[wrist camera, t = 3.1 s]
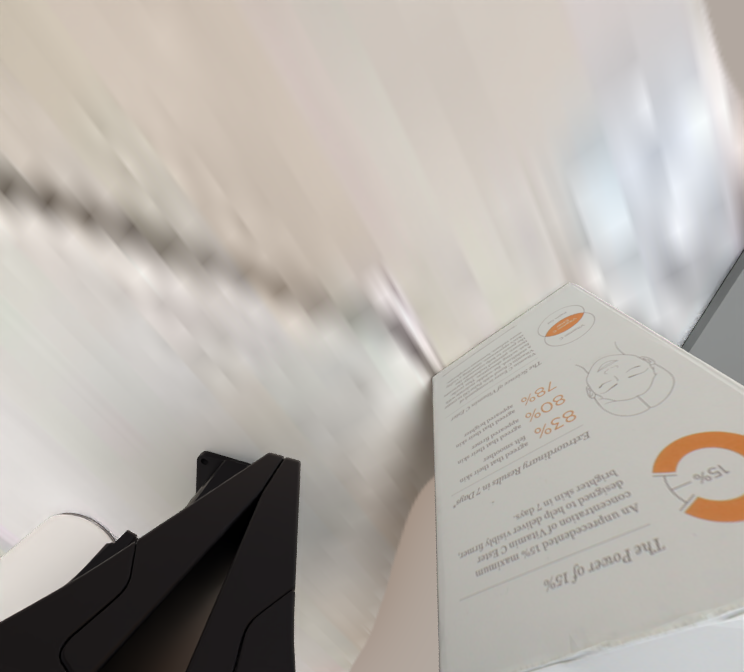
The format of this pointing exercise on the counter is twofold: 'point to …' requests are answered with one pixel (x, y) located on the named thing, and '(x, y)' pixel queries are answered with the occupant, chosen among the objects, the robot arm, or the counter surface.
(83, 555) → the can
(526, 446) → the small box
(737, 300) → the mat
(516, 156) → the counter surface
